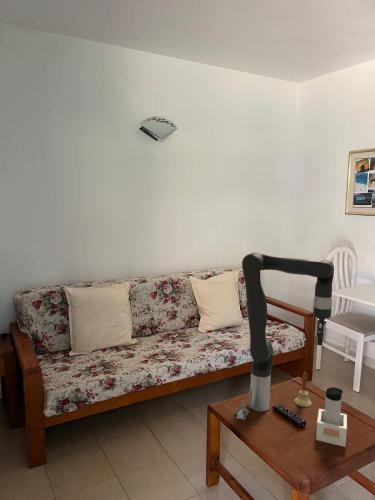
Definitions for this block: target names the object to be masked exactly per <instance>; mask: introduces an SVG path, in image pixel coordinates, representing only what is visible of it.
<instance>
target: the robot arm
mask: <svg viewBox="0 0 375 500" xmlns="http://www.w3.org/2000/svg"><path fill="white" fill-rule="evenodd" d="M241 266H242V267H241V268H242V272H243V277H244V282H245V293H246V294H245V295H246V296H245V297H246V308H247V318H248V327H249V353H250V356H251V359H252V360H253V361H252V364H251V367H250V387H249V392H248V396H249V397H248V408H249V409H252V410H253V411H256V412H263V413H264V412H266V411H268V410H269V409H270V400H271V397H270V396H271V378H272V377H271V376H272V375H271V372H272V368H273V358H274V357H273V356H274V348H273V345H272V342H270V340H269V339H267V338H266V331H267V330H266V328H267V323H268V322H267V321H268V304H267V298H266V295H265V292H264V289H263V287H262V281H261V271H277V272H283V273H286V274H292V275H298V276H299V275H300V276H302V275H303V276H309V277H313V278H316V283H315V286H314V298H313V306H312V316H313V317H314V318H317V319H316V337H317V339H316V345H317V346H323V341H324V337H325V333H326V326H327V320H326V319H330V318H331V317H332V307H333V299H332V298H333V281H334V276H335V275H334V274H335V265H334V263H333V262H332V261H331V260H329V259H323V260H320V261H313V260H309V259H307V258H306V259H305V258H295V257H279V256H278V257H277V256H272V255H266V254H264V253H259V252H251V253H249V254H246V255H245V256H244V257H243V259H242V262H241Z"/></svg>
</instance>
